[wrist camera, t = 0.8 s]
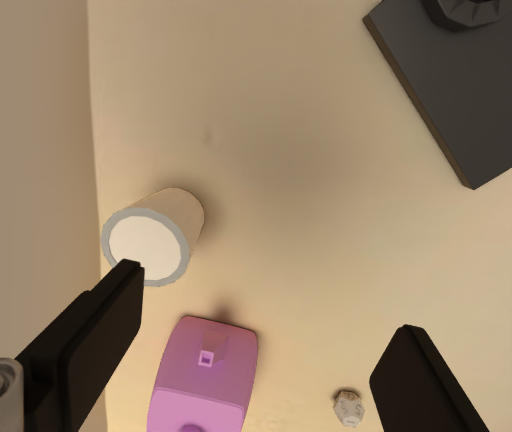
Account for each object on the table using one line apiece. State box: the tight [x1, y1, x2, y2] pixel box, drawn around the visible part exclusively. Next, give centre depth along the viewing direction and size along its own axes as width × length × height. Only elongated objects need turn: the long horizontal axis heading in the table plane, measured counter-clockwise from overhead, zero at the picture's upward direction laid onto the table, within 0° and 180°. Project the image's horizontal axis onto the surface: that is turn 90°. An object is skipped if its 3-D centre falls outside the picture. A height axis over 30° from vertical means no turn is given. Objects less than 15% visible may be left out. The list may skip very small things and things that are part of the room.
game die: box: [333, 391, 365, 427], centre depth 34 cm, size 4×4×3 cm
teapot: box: [147, 316, 258, 432], centre depth 29 cm, size 18×10×10 cm, turn 167°
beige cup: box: [100, 188, 204, 287], centre depth 24 cm, size 7×7×7 cm
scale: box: [363, 0, 512, 190], centre depth 19 cm, size 16×12×3 cm
